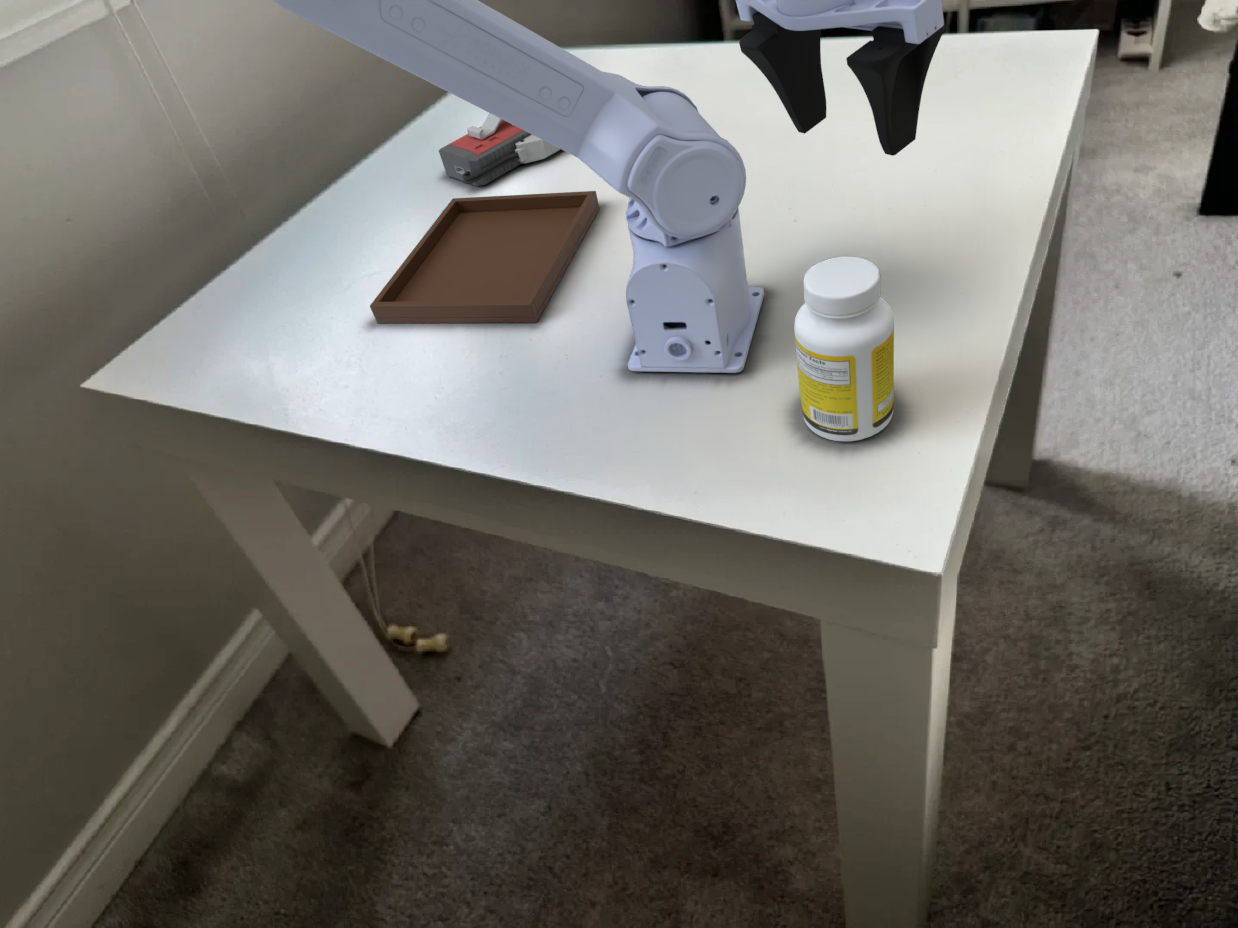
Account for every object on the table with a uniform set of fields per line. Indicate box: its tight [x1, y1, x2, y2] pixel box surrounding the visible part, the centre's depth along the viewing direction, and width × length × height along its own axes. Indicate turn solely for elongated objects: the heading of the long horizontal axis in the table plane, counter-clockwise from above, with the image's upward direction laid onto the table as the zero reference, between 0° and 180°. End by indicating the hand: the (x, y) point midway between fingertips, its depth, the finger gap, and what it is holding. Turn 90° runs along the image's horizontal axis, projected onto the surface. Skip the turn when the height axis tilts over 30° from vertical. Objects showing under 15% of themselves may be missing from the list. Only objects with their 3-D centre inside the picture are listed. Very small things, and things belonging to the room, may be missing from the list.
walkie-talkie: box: [438, 112, 561, 187], centre depth 91 cm, size 9×4×20 cm
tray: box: [369, 190, 600, 324], centre depth 76 cm, size 17×14×2 cm
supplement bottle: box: [793, 256, 895, 442], centre depth 51 cm, size 5×5×10 cm
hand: (854, 135), depth 58 cm, fingers open, 7 cm apart
